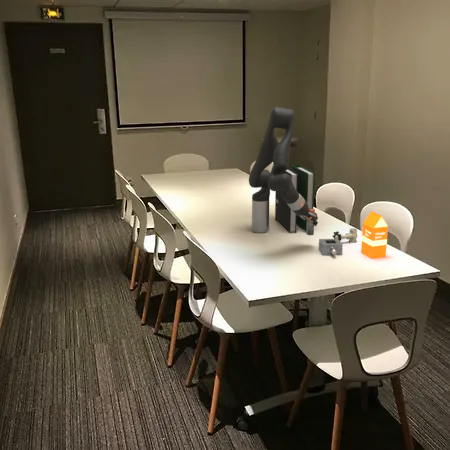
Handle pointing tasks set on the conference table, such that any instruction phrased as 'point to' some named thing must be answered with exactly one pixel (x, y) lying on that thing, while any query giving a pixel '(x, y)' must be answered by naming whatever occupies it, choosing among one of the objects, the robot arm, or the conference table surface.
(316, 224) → the robot arm
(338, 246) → the grey box
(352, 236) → the valve
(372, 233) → the orange juice
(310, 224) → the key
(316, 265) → the conference table surface
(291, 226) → the binder
